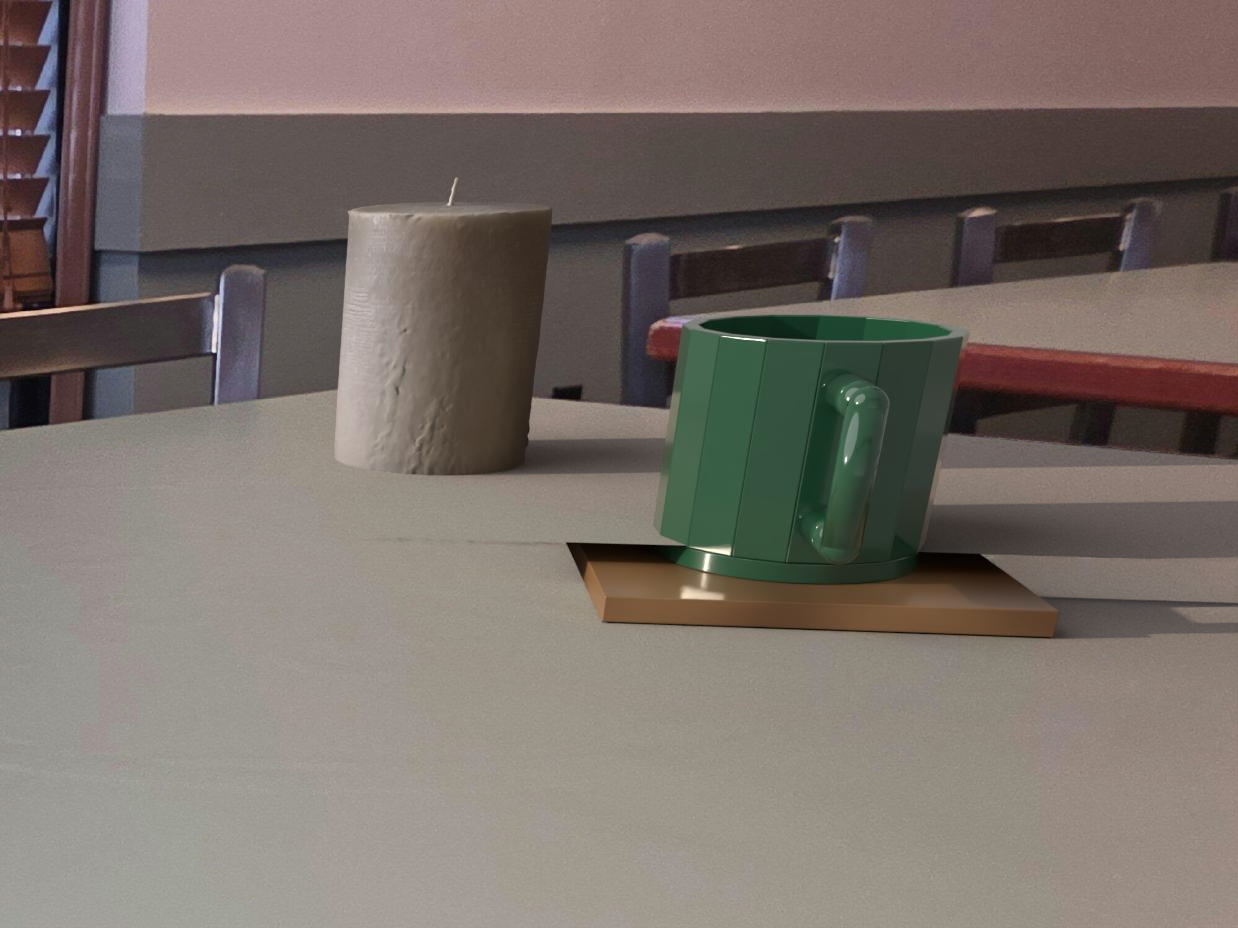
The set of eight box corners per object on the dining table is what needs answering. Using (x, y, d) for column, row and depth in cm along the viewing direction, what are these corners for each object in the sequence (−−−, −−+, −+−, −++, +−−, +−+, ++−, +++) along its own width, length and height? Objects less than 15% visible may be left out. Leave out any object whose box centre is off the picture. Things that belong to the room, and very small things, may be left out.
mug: (636, 525, 78) (666, 312, 74) (880, 531, 76) (924, 314, 72) (688, 605, 65) (728, 354, 61) (982, 615, 63) (1042, 357, 59)
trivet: (928, 541, 78) (933, 519, 78) (1053, 637, 64) (1060, 611, 64) (560, 531, 81) (562, 510, 81) (601, 621, 67) (605, 596, 66)
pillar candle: (548, 488, 90) (585, 174, 84) (481, 522, 83) (517, 181, 77) (373, 471, 95) (396, 173, 89) (296, 501, 88) (315, 180, 82)
